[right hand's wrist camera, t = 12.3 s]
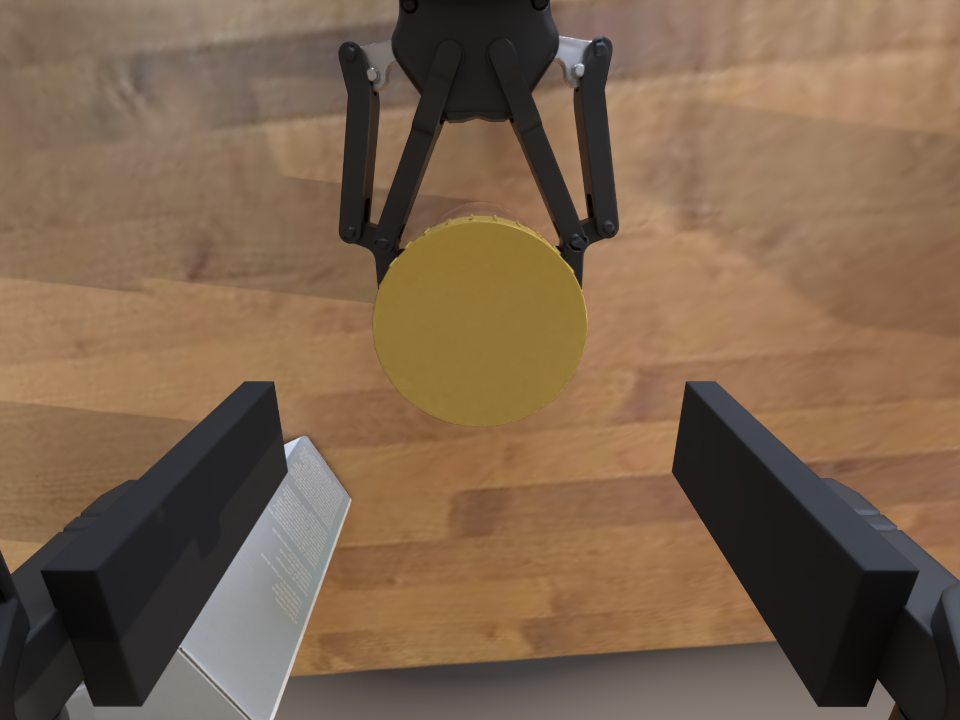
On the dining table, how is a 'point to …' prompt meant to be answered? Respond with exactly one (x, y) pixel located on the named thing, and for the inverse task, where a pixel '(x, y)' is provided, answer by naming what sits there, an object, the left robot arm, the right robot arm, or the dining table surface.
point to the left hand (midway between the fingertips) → (481, 354)
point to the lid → (479, 321)
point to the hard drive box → (251, 609)
